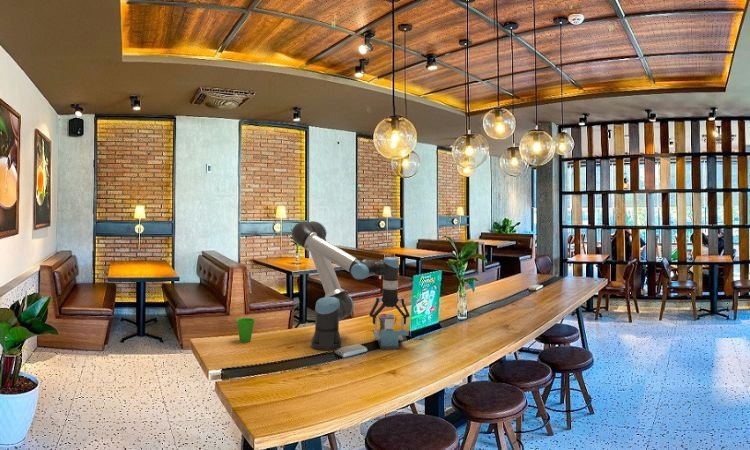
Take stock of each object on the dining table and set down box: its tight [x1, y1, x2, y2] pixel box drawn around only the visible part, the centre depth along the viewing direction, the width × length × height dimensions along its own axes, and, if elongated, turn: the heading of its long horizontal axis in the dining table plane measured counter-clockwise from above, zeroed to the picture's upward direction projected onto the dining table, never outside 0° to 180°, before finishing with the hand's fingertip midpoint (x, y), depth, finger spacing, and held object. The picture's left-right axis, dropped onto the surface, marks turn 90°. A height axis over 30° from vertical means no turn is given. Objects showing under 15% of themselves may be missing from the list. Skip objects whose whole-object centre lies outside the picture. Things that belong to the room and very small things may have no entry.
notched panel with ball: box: [372, 322, 410, 351], centre depth 240 cm, size 16×16×11 cm
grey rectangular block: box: [385, 319, 395, 330], centre depth 237 cm, size 4×4×12 cm
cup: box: [236, 317, 256, 344], centre depth 238 cm, size 9×9×11 cm
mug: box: [377, 313, 397, 330], centre depth 259 cm, size 12×9×11 cm
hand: (389, 330), depth 237 cm, fingers open, 13 cm apart
